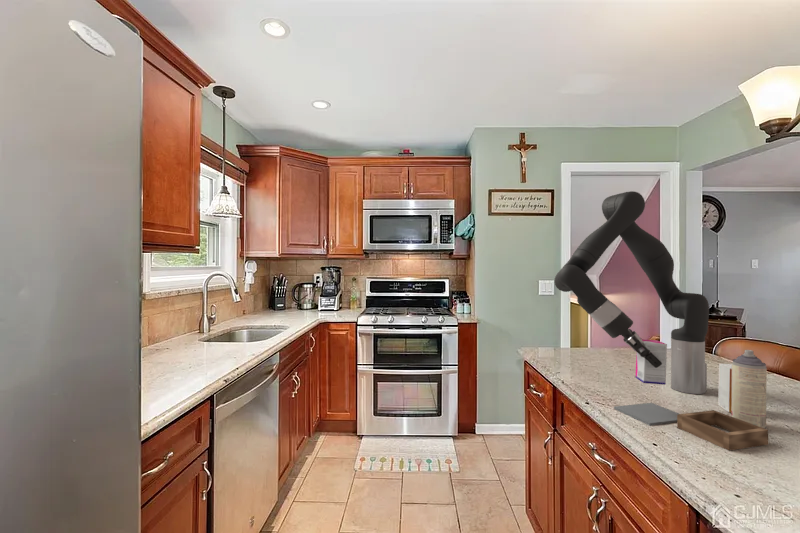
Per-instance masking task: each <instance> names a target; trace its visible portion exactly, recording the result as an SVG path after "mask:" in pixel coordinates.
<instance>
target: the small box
mask: <svg viewBox="0 0 800 533" xmlns="http://www.w3.org/2000/svg"><path fill="white" fill-rule="evenodd" d="M717 396H718V397H717V398H718V403H717V404H718V407H721V408H722V409H723V410H724V411H726V412H728V413H730V414H731V409H732V363H718V395H717Z"/></svg>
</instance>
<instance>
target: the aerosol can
mask: <svg viewBox="0 0 800 533" xmlns="http://www.w3.org/2000/svg"><path fill="white" fill-rule="evenodd" d="M731 364H732V409H731V413H730V414H731V415H730V416H731V417H734V418H737V419H739V420H742V421H745V422H748V423H751V424H753V425H756V426H759V427H762V428H765V429H767V379H768V378H767V375H768V374H767V363H765V362H762V360H761V358H759V357H758V356H756V355H755V354H754V350H751V349H744V353H743V354H741V355H739V356H737V357H736V358H734V359H732V363H731Z"/></svg>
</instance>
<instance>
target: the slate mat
mask: <svg viewBox="0 0 800 533" xmlns="http://www.w3.org/2000/svg"><path fill="white" fill-rule="evenodd" d="M613 409H614V410H616V411H618V412H620V413H623V414H624V415H626V416H629V417H630V418H633V419H635V420H637V421H640V422H642V423H643V424H646V425H648V426H656V425H665V424H672V423H673V424H674V423H677V414H680V413H679V412H676V411H674V410H672V409H669V408H666V407H664V406H661V405H659V404H656V403H654V402H645V403H637V404H636V403H635V404H627V405H625V404H624V405H617V406H613Z"/></svg>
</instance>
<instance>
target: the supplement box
mask: <svg viewBox="0 0 800 533" xmlns="http://www.w3.org/2000/svg"><path fill="white" fill-rule="evenodd" d="M641 340H642V341H643V342H644V343H645V347H647V348H648V349H649V350H650V351H651V352H652V354H653V355H654V356H655V357H657V358H658V359H659V360H660V361H661V362H662V365H660V366H659V367H657V368H655V367H654V366H653V365H652V364H651V363H650V362H649V361H648V360H646V359H645V358H644V357H641V356H640V354H639V353H638V352H636V351H635V352H636V353H635V377H634V378H636V379H637V380H639V381H640V382H641V383H643V384H651V385H652V384H653V385H664V386H665V385H666V382H667V381H666V380H667V358H668V357H667V353H668V350H667V349H668V344H667V343H665V342H662V341H659V340H657V339H641ZM644 350H645V349H644V348H643V349H641V350H640V352H643V351H644Z"/></svg>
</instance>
